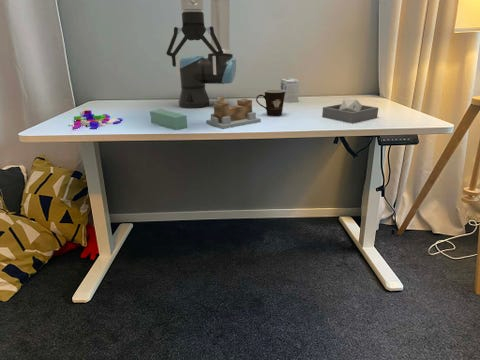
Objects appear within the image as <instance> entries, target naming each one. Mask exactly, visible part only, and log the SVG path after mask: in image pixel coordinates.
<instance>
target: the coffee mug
mask: <svg viewBox="0 0 480 360" xmlns="http://www.w3.org/2000/svg"><path fill="white" fill-rule="evenodd" d="M284 95H285V91H284V90H281V89H266V90H264V94H259V95H256V98H255V101H256V103H257V104H258V105H259V106H261V107H262V108H264V109H265V110H266V115H267V116H268V117H280V116H282V115H283V109H284V103H285V102H284ZM260 97H263V98H264V100H265V106H264V105H263V104H261V103H260V102H259V100H258V99H259V98H260Z"/></svg>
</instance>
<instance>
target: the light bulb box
mask: <svg viewBox="0 0 480 360" xmlns="http://www.w3.org/2000/svg"><path fill="white" fill-rule="evenodd" d="M280 90H284V91H285V95H284V103H285V104H286V103H287V104H289V103H299V90H300V80H298V79H297V78H292V77H291V78H288V77H287V78H281V79H280Z"/></svg>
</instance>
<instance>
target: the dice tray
mask: <svg viewBox="0 0 480 360" xmlns="http://www.w3.org/2000/svg"><path fill="white" fill-rule="evenodd" d="M341 104H342V103H339V104H333V105H329V106H323V107H322V118H326V119H330V120H334V121H339V122H343V123H348V124H355V123H359V122H364V121H369V120H372V119H377V118H378V116H379V107H376V106H369V105H365V104H361V105H362V107H361V109H360V111H356V112H348V111H343V110H339V108H340V106H341Z"/></svg>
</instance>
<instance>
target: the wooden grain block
mask: <svg viewBox="0 0 480 360" xmlns="http://www.w3.org/2000/svg"><path fill="white" fill-rule="evenodd" d="M251 112H253V100H252V99H247V98H241V99H237V100H236V104H234V105H230V104H229V103H228V102H226V97H225V96H217V97H216V102H215V103H213V114H214V117H216V118H218V121H219V123H222V117H227V116H229V117H231V121H237V120H243V119H248V118H247V113H251Z"/></svg>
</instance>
